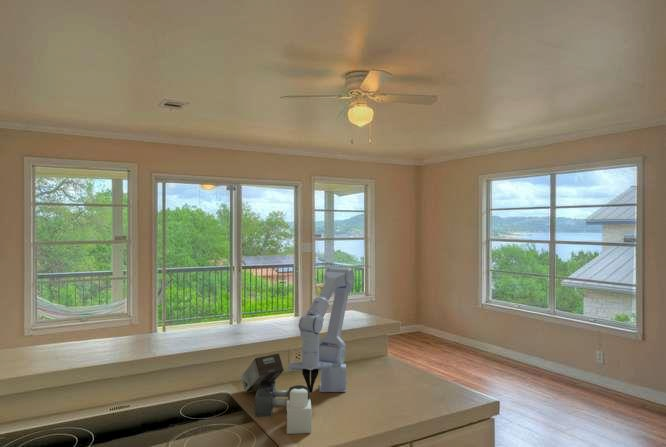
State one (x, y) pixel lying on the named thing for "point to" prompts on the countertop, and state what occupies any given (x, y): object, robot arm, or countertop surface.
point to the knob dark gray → (281, 393)
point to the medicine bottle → (298, 411)
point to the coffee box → (261, 371)
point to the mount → (265, 399)
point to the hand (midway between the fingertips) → (310, 391)
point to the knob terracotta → (279, 402)
